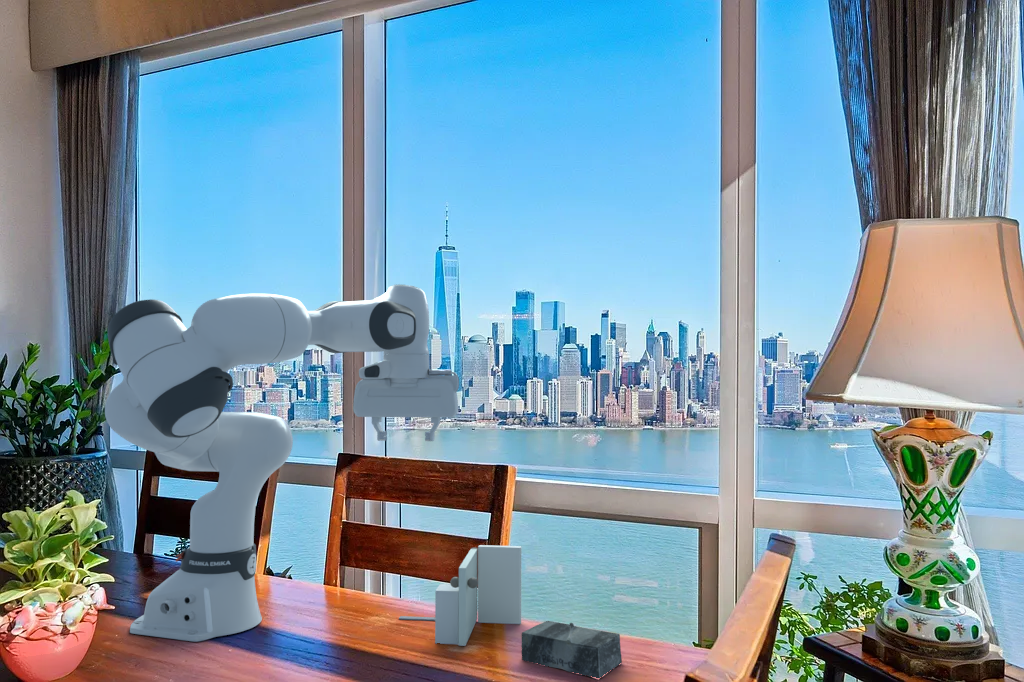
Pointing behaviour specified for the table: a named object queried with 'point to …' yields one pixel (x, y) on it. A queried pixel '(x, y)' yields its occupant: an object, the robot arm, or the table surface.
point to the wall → (496, 585)
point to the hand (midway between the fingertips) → (405, 440)
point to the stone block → (572, 648)
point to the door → (467, 595)
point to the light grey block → (446, 614)
